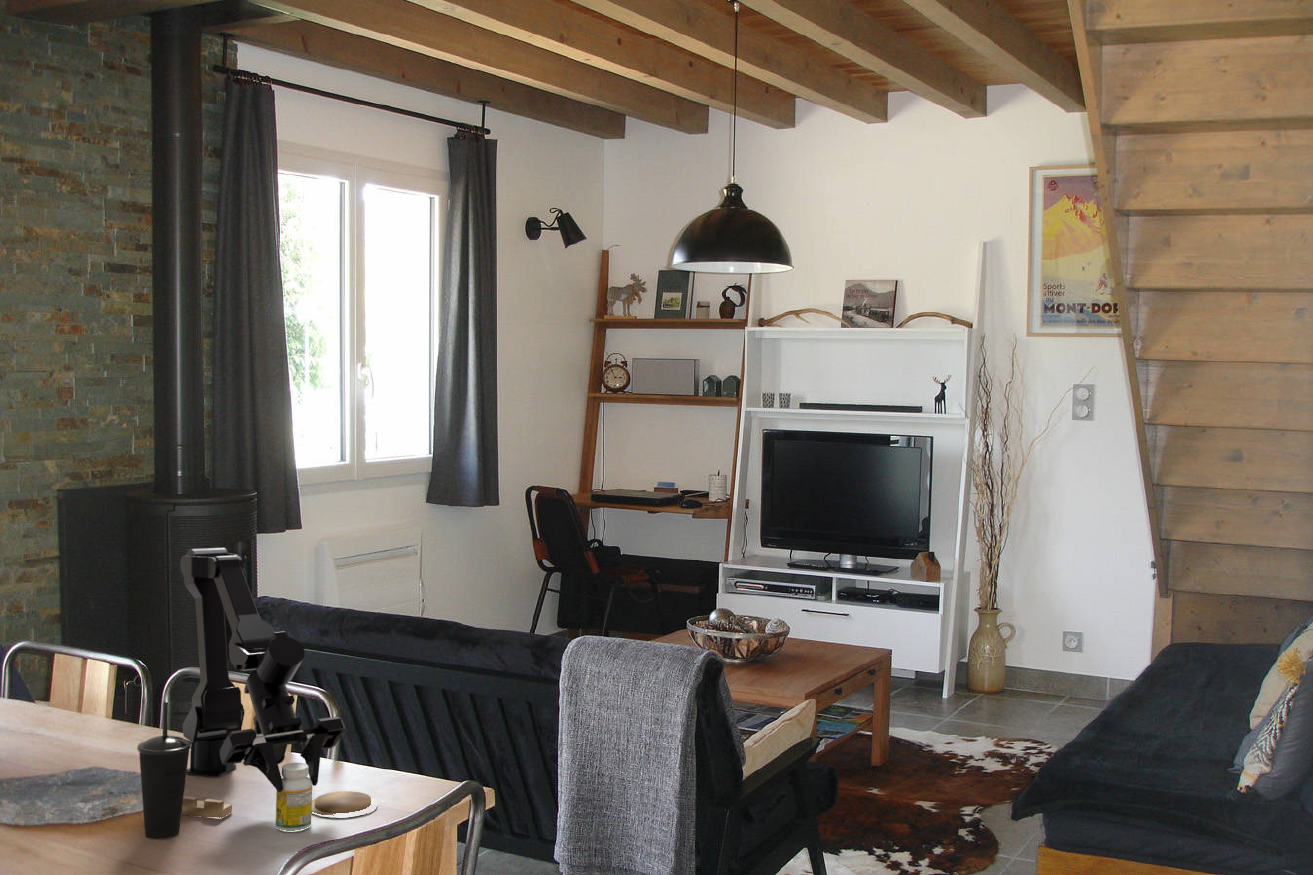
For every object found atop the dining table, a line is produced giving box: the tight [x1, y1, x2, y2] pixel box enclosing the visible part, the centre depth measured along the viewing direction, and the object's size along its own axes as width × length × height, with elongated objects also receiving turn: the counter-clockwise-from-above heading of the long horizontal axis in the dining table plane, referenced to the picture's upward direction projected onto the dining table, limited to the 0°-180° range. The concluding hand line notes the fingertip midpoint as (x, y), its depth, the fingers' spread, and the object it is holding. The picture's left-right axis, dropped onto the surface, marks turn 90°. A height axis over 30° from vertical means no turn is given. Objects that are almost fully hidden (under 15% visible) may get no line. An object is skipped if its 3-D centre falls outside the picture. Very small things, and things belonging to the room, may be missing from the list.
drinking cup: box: [137, 701, 192, 840], centre depth 188 cm, size 8×8×20 cm
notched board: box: [181, 795, 233, 818], centre depth 197 cm, size 8×3×3 cm, turn 78°
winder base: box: [312, 790, 372, 816], centre depth 203 cm, size 11×11×1 cm
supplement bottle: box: [275, 762, 313, 831], centre depth 193 cm, size 5×5×10 cm
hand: (298, 787), depth 192 cm, fingers closed on supplement bottle, 5 cm apart
